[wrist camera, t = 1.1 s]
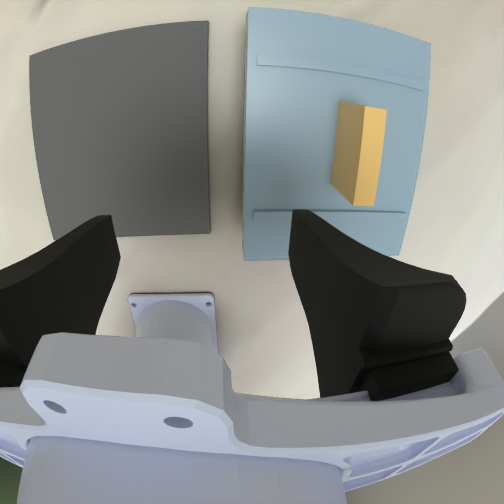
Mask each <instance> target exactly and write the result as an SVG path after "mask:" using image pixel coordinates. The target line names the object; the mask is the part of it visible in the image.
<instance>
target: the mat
mask: <svg viewBox="0 0 504 504" xmlns="http://www.w3.org/2000/svg"><path fill="white" fill-rule="evenodd" d="M207 68H208V21H189V22H177V23H166V24H158V25H150V26H143V27H136V28H130V29H125V30H119V31H114V32H109V33H105V34H100V35H96V36H92V37H88V38H84V39H80V40H76V41H73V42H69V43H66V44H63V45H59V46H56V47H53V48H50V49H47V50H44V51H41V52H39V53H36V54H33V55H30V60H29V79H30V104H31V118H32V129H33V138H34V146H35V153H36V160H37V166H38V172H39V178H40V183H41V189H42V194H43V198H44V203H45V207H46V212H47V216H48V220H49V224H50V228H51V232H52V235H53V239H54V240H58V239H59V238H61V237H62V236H64V235H66V234H67V233H69V232H70V231H72V230H73V229H75V228H76V227H78V226H79V225H81V224H83V223H84V222H86V221H88V220H89V219H91V218H93V217H96V216H98V215H111V216H112V221H113V226H114V231H115V235H116V237H127V236H152V235H180V234H210V211H209V181H208V132H207Z"/></svg>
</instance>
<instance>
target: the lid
mask: <svg viewBox="0 0 504 504" xmlns="http://www.w3.org/2000/svg"><path fill="white" fill-rule="evenodd" d="M430 52H431V44H430V43H428V42H425V41H422V40H420V39H417V38H414V37H411V36H408V35H405V34H402V33H399V32H395V31H392V30H389V29H385V28H382V27H378V26H374V25H370V24H366V23H362V22H358V21H354V20H349V19H344V18H339V17H334V16H328V15H323V14H316V13H310V12H302V11H294V10H284V9H273V8H257V7H249V8H248V11H247V14H246V38H245V81H244V136H243V215H242V249H243V257H244V261H257V260H288V259H289V256H288V250H289V241H290V231H291V221H292V211H293V210H310V211H312V212H313V213H315V214H316V215H318V216H319V217H321V218H322V219H324V220H325V221H327V222H328V223H329V224H331V225H332V226H334V227H335V228H337V229H338V230H340V231H341V232H343V233H344V234H346V235H348V236H349V237H351V238H353V239H354V240H356V241H358V242H359V243H361V244H363V245H365V246H367V247H369V248H371V249H373V250H375V251H377V252H379V253H381V254H383V255H386V256H395V255H399V253H400V249H401V246H402V242H403V238H404V234H405V230H406V226H407V222H408V218H409V214H410V210H411V205H412V200H413V196H414V191H415V186H416V181H417V175H418V170H419V164H420V158H421V152H422V145H423V138H424V131H425V123H426V114H427V104H428V92H429V78H430Z"/></svg>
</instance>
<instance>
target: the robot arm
mask: <svg viewBox="0 0 504 504" xmlns="http://www.w3.org/2000/svg"><path fill="white" fill-rule="evenodd" d="M288 256H289V261H290V267H291V272H292V276H293V279H294V282H295V285H296V288H297V291H298V293H299V296H300V299H301V302H302V305H303V308H304V311H305V314H306V317H307V321H308V324H309V329H310V334H311V339H312V344H313V350H314V356H315V362H316V368H317V375H318V383H319V390H320V398H316V399H308V400H304V399H290V398H278V397H268V396H258V395H250V394H242V393H235V392H233V389H232V384H231V371H230V369H229V367H228V366H227V364H226V362H225V360H224V358H223V356H221V355H219V354H218V345H217V333H216V320H215V306H214V296H213V295H212V294H210V293H196V294H131V295H129V297H128V303H129V306H130V310H131V313H132V317H133V320H134V324H135V327H136V332H135V336H134V337H120V336H102V335H95V334H96V329H97V326H98V322H99V319H100V316H101V314H102V311H103V308H104V306H105V303H106V301H107V298H108V296H109V293H110V291H111V288H112V286H113V283H114V280H115V278H116V274H117V271H118V267H119V262H120V258H121V256H120V252H119V248H118V244H117V240H116V235H115V231H114V226H113V221H112V216H111V215H98V216H96V217H93V218H91V219H89V220H88V221H86V222H84V223H83V224H81V225H79V226H78V227H76V228H75V229H73V230H72V231H70V232H69V233H67V234H66V235H64V236H62V237H61V238H59V239H58V240H56V241H54V242H53V243H51V244H50V245H48V246H47V247H45V248H43V249H42V250H40V251H38V252H36V253H35V254H33V255H31V256H29V257H27V258H25V259H23V260H21V261H19V262H17V263H15V264H12V265H10V266H8V267H6V268H4V269H1V270H0V457H2V458H4V459H6V460H8V461H10V462H12V463H14V464H16V465H18V466H21V467H23V471H22V476H21V481H20V487H19V493H18V499H17V504H347V502H346V497H345V491H349V490H352V489H356V488H359V487H362V486H366V485H369V484H372V483H375V482H378V481H381V480H384V479H386V478H389V477H392V476H394V475H397V474H400V473H402V472H405V471H407V470H410V469H412V468H415V467H417V466H419V465H422V464H424V463H426V462H429V461H430V460H433V459H435V458H437V457H440V456H442V455H444V454H446V453H448V452H450V451H452V450H454V449H456V448H458V447H460V446H462V445H464V444H466V443H468V442H470V441H472V440H473V439H475V438H476V437H477V436H479V435H480V434H481V433H482V432H483V431H484V430H486V429H487V428H488V427H489V426H491V425H492V424H493V423H494V422H495V421H496V420H497V419H499V418H500V417H501V416H502V415H503V414H504V382H503V381H502V379H501V377H500V375H499V373H498V372H497V370H496V368H495V366H494V365H493V363H492V361H491V360H490V358H489V356H488V355H487V353H486V351H485V350H484V348H478V349H475V350H472V351H469V352H465V353H462V354H460V355H458V356H457V357H455V358H454V359H453V358H452V356H451V354H450V352H449V351H451V350H452V348H453V345H452V344H451V342H450V340H449V337H450V335H451V333H452V332H453V330H454V328H455V327H456V325H457V323H458V322H459V320H460V318H461V316H462V314H463V312H464V309H465V305H466V293H465V292H464V290H463V289H462V288H461V286H460V285H459V284H458V282H457V281H456V280H455V279H454V277H453V276H452V275H448V274H444V273H439V272H435V271H430V270H426V269H422V268H419V267H416V266H413V265H409V264H406V263H404V262H401V261H398V260H396V259H393V258H391V257H388V256H386V255H383V254H381V253H379V252H377V251H375V250H373V249H371V248H369V247H367V246H365V245H363V244H361V243H359V242H358V241H356V240H354V239H353V238H351V237H349V236H348V235H346V234H344V233H343V232H341V231H340V230H338V229H337V228H335V227H334V226H332V225H331V224H329V223H328V222H327V221H325V220H324V219H322V218H321V217H319V216H318V215H316V214H315V213H313V212H312V211H310V210H293V211H292V221H291V231H290V241H289V250H288ZM207 302H210V304H207ZM133 303H135V304H136V305H135V304H133Z"/></svg>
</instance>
